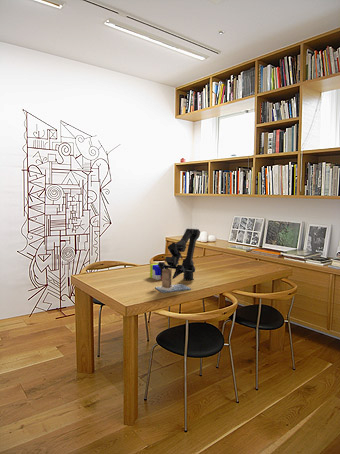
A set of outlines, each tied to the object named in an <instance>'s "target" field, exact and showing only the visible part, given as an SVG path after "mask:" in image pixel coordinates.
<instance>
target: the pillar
mask: <svg viewBox="0 0 340 454" xmlns="http://www.w3.org/2000/svg"><path fill="white" fill-rule="evenodd" d="M172 270H173V269H171V268H168V269H163V270H162V279H161V286H162V287H164V288H170V287H171V285H172V276H173V275H172Z"/></svg>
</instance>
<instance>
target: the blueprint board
mask: <svg viewBox="0 0 340 454" xmlns="http://www.w3.org/2000/svg"><path fill="white" fill-rule="evenodd" d="M154 288H155V290H157V291H159V292H161V293H162V294H163V293H164V294H166V292H167V293H172V292H174V291H175V292H181V291H189V290H192V289H191V287H189V286H187V285H186V284H183V283H179V284H178V283H177V284H171V287H170V288H164V287H162V285H161V286H155V287H154ZM175 292H174V293H175Z"/></svg>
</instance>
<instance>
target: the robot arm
mask: <svg viewBox="0 0 340 454" xmlns="http://www.w3.org/2000/svg"><path fill="white" fill-rule="evenodd" d="M200 235H201V231H200V230H199V228H186V229H185V232H184V234H183V235H182V237H181V239H180V240H178V241H176V242H171V243H170V244H169V245H168V246H167V250H168V251H169V253H170V254H171V256H165V260H164V262H161V261H159V262H157V263H158V266H159V268H160V269H161V275H160V277H162V270H163V269H166V268H168V269H172V270H174V273H173V275H172V277H171V280H174V279H175V278H177V277H178V276H179V275H181V274H183V277H182V279H183V280H185V281H193V280H194V281H195V278H194V273H195V272H196V267H195V265H194V264H195V262H194V260H193V258H194V252H195V247H196V243H197V242H196V241H198V239H199V238H200ZM187 243H188V247H187V246H186V245H187ZM186 249H187V251H186ZM185 251H186V257H185V258H183V259H182V263H181V264H180V262H179V261H180V259H181V258H182V253H184V252H185ZM165 262H166V263H165ZM165 264H166V265H165Z"/></svg>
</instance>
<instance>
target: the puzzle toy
mask: <svg viewBox="0 0 340 454" xmlns="http://www.w3.org/2000/svg"><path fill="white" fill-rule="evenodd" d="M158 263H159V262H157V263H150V264H149V278H152V279H154V280H157V281H159V280H162V277H160V275H161V269H160V268H159V266H158ZM165 265H167V263H165ZM166 269H169V268H166Z"/></svg>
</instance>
